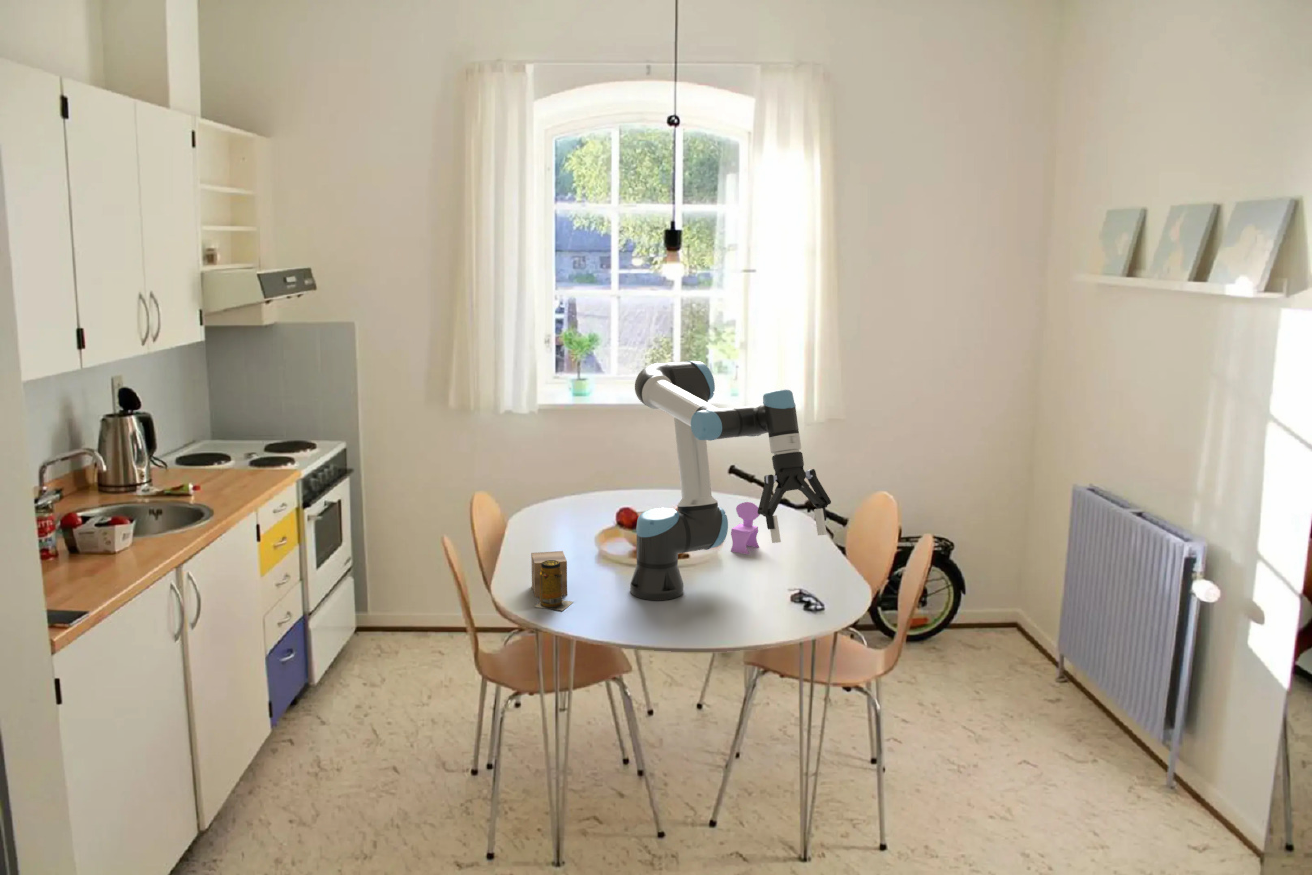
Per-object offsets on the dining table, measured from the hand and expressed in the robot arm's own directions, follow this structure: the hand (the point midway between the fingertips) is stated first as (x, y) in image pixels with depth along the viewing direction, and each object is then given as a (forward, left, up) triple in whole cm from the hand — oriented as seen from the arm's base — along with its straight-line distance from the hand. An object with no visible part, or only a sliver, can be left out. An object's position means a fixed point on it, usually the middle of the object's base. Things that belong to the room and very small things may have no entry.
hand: (799, 538), depth 259 cm
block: (-15, -73, -28) cm, 80 cm away
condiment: (-5, -68, -28) cm, 74 cm away
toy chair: (-69, -29, -28) cm, 80 cm away
